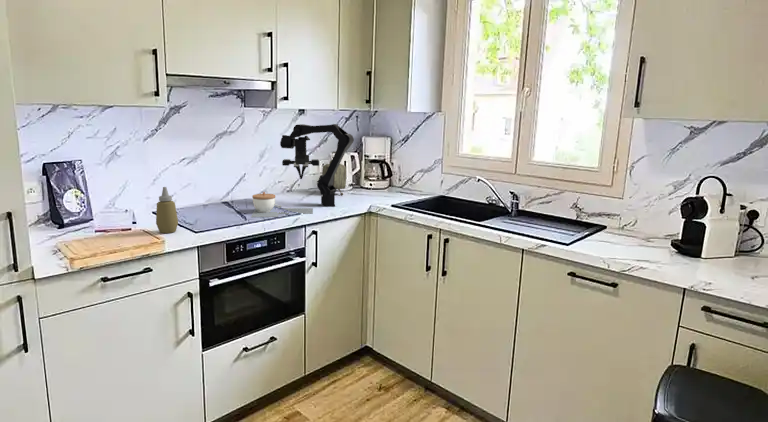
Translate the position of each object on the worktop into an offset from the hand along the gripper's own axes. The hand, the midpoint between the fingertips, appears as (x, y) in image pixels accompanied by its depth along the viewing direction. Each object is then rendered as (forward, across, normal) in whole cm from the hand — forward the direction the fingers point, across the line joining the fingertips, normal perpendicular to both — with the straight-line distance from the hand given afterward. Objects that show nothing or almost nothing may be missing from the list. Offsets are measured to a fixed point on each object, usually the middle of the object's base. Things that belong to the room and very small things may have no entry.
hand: (301, 179), depth 258 cm
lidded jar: (+13, -17, -20) cm, 29 cm away
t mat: (+14, -8, -20) cm, 25 cm away
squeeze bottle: (+13, -51, -59) cm, 79 cm away
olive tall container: (+13, +18, +28) cm, 36 cm away
